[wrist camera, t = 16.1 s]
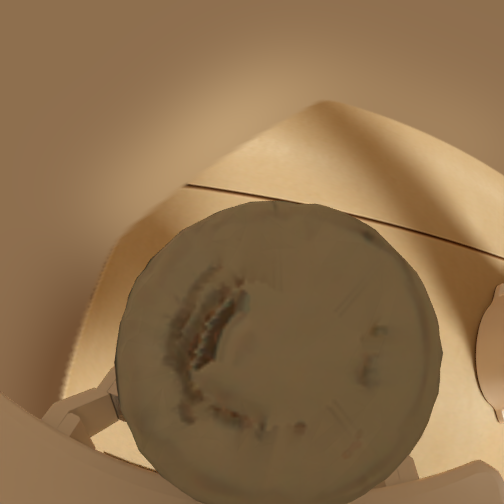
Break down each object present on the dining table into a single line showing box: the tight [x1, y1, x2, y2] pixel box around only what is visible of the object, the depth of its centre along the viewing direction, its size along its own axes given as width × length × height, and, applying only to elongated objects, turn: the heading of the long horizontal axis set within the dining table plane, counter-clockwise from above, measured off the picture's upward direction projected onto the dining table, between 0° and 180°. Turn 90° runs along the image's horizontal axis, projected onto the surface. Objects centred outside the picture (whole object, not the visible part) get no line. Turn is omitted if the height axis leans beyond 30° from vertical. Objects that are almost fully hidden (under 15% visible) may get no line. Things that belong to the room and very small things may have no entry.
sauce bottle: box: [114, 201, 443, 504], centre depth 12 cm, size 6×6×20 cm
